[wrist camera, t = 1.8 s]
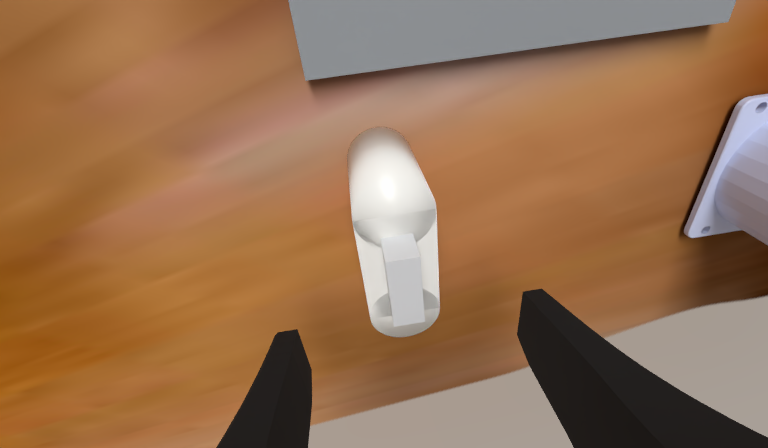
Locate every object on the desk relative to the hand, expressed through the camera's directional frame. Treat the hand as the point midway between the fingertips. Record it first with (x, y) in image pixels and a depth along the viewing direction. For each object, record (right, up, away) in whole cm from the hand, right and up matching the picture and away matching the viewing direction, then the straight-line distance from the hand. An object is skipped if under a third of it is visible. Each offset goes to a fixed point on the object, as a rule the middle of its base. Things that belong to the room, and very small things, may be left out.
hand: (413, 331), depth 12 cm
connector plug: (-1, +4, +7) cm, 8 cm away
